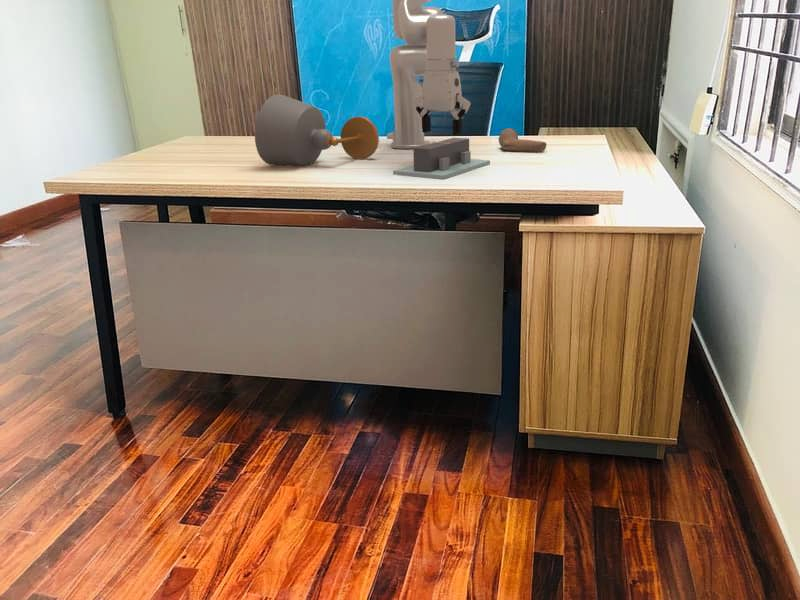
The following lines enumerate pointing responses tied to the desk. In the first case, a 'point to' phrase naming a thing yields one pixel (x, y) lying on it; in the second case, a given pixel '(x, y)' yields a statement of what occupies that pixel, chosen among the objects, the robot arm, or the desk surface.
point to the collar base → (446, 168)
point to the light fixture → (306, 133)
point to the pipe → (519, 142)
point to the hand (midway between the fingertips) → (441, 133)
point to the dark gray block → (439, 153)
